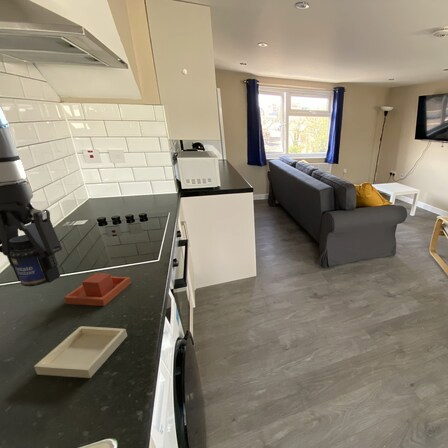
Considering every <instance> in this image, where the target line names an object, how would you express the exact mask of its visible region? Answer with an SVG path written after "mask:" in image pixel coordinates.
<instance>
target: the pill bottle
mask: <svg viewBox="0 0 448 448" xmlns="http://www.w3.org/2000/svg"><path fill="white" fill-rule="evenodd" d="M9 242H10V245H11V246H12V247H13V248H14V249H13V250H11V252H10V257H11V259H12V262H13V264H14V267H15V269H16V272H17V274H18V276H19V279H20V281H19V282H20V284H21V285H22V286H23V287H30V288H31V287H37V286H41V285H45V284H47V281H46V279H45V276H44V274H43V271H42V268H41V266H40V263H39V261H38V256H40V254H39V253H38V251H37V250H36V249H35V247H34V246H33V244H32V243H31V242H30V240H29V239H28V237H27V236H26V235H25V234H21V235H18V236H17V237H14V238H12V239H10V240H9ZM45 250H46V249H45Z"/></svg>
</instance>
